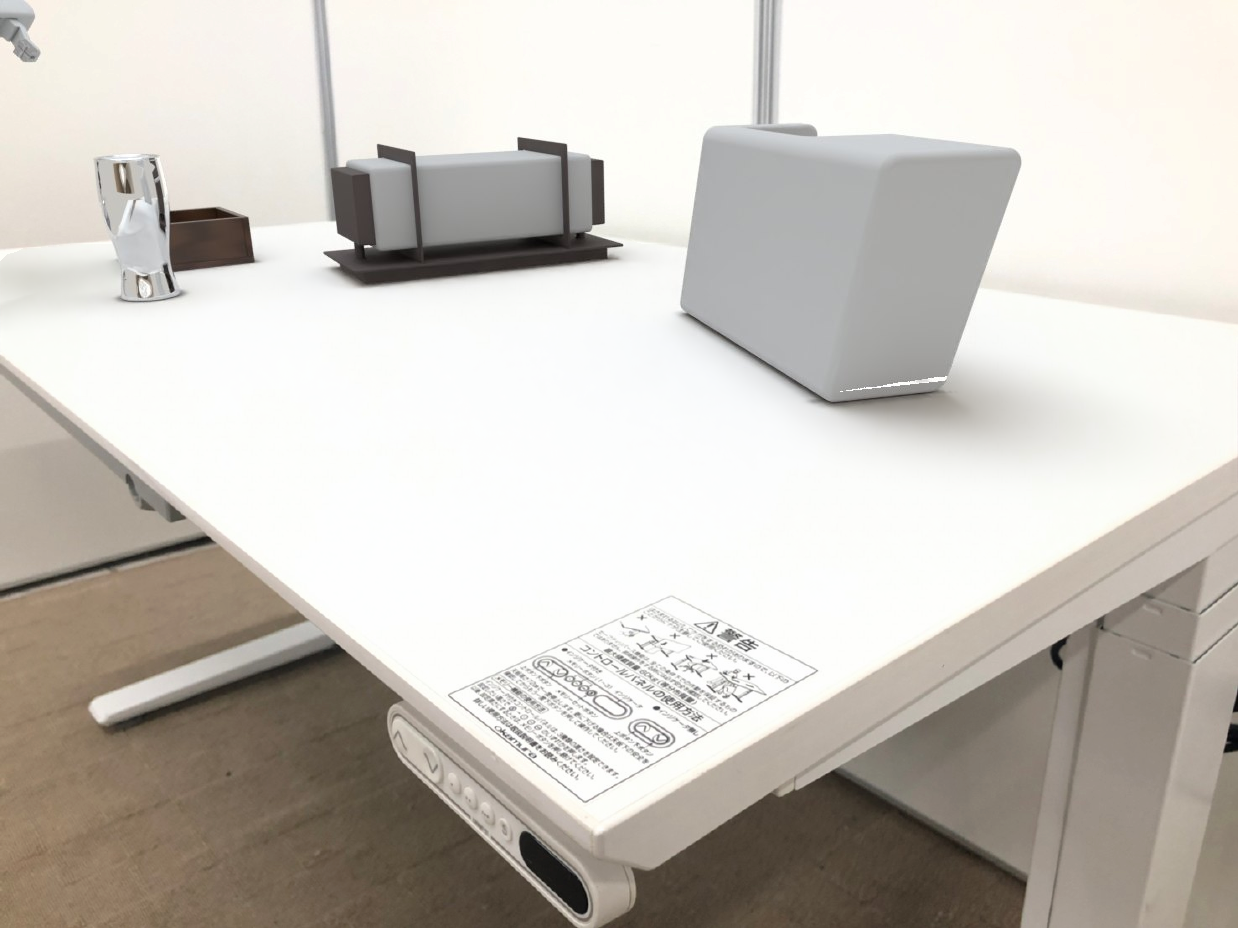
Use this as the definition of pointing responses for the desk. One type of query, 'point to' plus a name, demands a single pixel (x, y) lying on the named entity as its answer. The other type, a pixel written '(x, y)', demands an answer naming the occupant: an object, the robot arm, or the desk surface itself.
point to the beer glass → (138, 223)
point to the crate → (209, 238)
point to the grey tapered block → (843, 251)
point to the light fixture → (468, 211)
